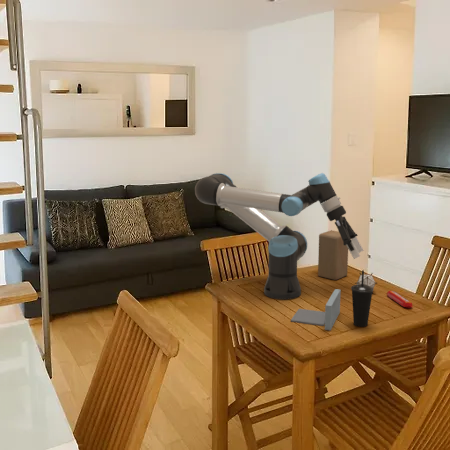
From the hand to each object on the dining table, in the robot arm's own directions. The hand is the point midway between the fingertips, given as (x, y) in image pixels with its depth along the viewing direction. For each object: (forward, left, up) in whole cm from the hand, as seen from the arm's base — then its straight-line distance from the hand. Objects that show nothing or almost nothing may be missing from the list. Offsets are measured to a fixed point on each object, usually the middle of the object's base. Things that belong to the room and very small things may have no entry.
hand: (359, 254), depth 228 cm
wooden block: (-14, +19, -16) cm, 29 cm away
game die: (+3, +2, -16) cm, 17 cm away
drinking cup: (+6, -33, -16) cm, 38 cm away
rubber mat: (-12, -33, -16) cm, 39 cm away
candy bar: (+17, -5, -17) cm, 25 cm away
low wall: (-4, -33, -16) cm, 37 cm away
